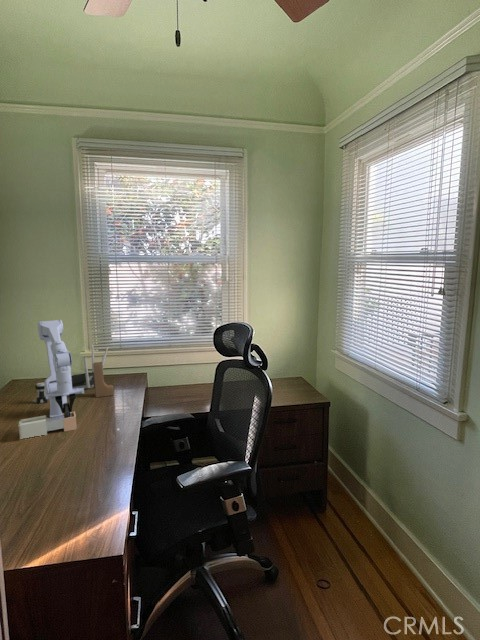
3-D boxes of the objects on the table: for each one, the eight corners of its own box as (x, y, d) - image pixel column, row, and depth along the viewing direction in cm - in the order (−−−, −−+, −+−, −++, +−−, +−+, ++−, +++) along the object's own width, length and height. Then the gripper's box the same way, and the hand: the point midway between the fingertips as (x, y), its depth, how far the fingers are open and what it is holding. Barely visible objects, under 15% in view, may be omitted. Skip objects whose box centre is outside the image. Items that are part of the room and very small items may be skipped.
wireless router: (72, 376, 225) (69, 345, 222) (111, 373, 231) (109, 343, 228) (61, 394, 193) (58, 358, 190) (106, 390, 199) (104, 355, 196)
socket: (63, 425, 155) (62, 413, 154) (75, 423, 157) (74, 411, 156) (64, 431, 150) (63, 418, 149) (76, 429, 152) (75, 416, 151)
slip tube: (41, 428, 150) (39, 406, 149) (72, 422, 156) (71, 401, 154) (41, 432, 147) (39, 410, 145) (73, 426, 152) (71, 404, 151)
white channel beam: (21, 434, 148) (19, 419, 147) (47, 429, 152) (45, 415, 151) (20, 440, 142) (18, 425, 141) (47, 435, 147) (45, 420, 146)
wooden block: (113, 392, 195) (111, 360, 193) (113, 395, 191) (111, 362, 188) (95, 394, 192) (93, 362, 189) (95, 397, 188) (93, 364, 185)
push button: (32, 405, 179) (30, 385, 177) (35, 401, 184) (33, 382, 182) (47, 403, 181) (45, 384, 179) (49, 399, 186) (47, 381, 184)
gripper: (44, 386, 143) (47, 418, 145) (83, 381, 150) (86, 411, 152) (44, 381, 149) (47, 412, 151) (82, 376, 156) (84, 406, 158)
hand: (66, 411), depth 152 cm, fingers closed on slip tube, 2 cm apart
